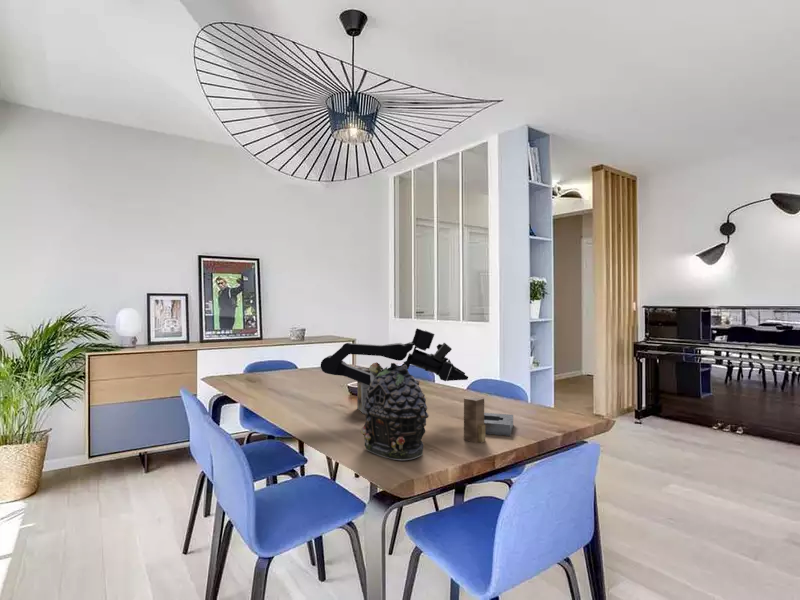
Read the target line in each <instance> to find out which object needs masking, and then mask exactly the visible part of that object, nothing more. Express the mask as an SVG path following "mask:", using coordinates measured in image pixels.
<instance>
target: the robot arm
mask: <svg viewBox="0 0 800 600" xmlns="http://www.w3.org/2000/svg"><path fill="white" fill-rule="evenodd" d="M434 337H435V333H433V332H430V331H427V330H423V329H420V328H418V327H417V328H416V329H415V331H414V336H413V339H412V341H411V342H410V341H409V342H407V343H402V342H396V343H390V344H389V343H388V344H383V345H382V344H370V343H368V344H365V343H352V342H346V343H344V344H343V345H342V346H340V348H339V349H338V350H336V352H334V353H333V354H332V355H328V356H326V357H324V358H323V359H322V360H321V362H320V368H321V370H322V372H323V373H325V374H329V375H332V376H343V377H346V378H349V379H351V380H354V381H356V382H357V381H359V382H362V383H364V384H367V385H369V386H370V383H371V379H370V373H368V372H365V371H363V370H360V369H357V368H358V367H354V366H352V365H350V364H348V363H347V362H346V361H344V359H346V358H347V357H348V356H349V355H355V356H356V355H358V356H360V355H361V356H371V357H372V356H374V357H375V356H376V357H383V358H387V359H390V360H394V361H398V362H399V361H403V360H404V359H405V358H407V359H406V361H403V364H406V365H407V370H409V368H410V366H413V367H416V368H420V369H423V370H424V371H426V372H430V373H433V374H435V375H436V376H438V377H439V379H440V381H444V382H446V381H447V382H449V381H468V379H469V376H468V375H466V372H464V371H462V370H461V369H460V368H458V367H456V366H455V365H454V364H453V363H452V362H451V360H450V359H449V358H448V357H446V356H447V355H448V354H449V353H450V352H451V351H452V347H450V345H448V344H447V343H446V342H443V343H438V344H437V345H436V349H437V350H436V352H435V353H427V352H426V350H427V349H428V350H429V349H430V347H431V345H432V342H433V340H434ZM412 350H413V351H412ZM411 351H412V352H411ZM424 351H425V352H424ZM410 352H411V353H410ZM407 355H408V356H407Z"/></svg>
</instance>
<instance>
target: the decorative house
mask: <svg viewBox="0 0 800 600" xmlns="http://www.w3.org/2000/svg"><path fill="white" fill-rule="evenodd" d="M368 368H369V370H370V379H371V383H370V387H369V388H368V389H367V396H366V399H365V406H364V410H365V413H364V415H365V423H364V425H363V427H362V429H361V431H360V434H362V435H363V438H364V448H365V450H366V451H368V452H370V453H372V454H374V455H377V456H379V457H384V458H386V459H390V460H394V461H395V460H396V461H408V460H409V461H410V460H414V459H416V458H419V457H421V456H423V454H424V442H423V440H422V439H423V436H424V435H425V434H426V428H425V427H426V426H427V419H428V418H429V417H430V415H429V414H428V412H427V411H428V406H427V404H426V402H427V401H426V399H427V398H426V397H425V395H426V394H424V393H423V390H422V388H421V387H420V381H419V380H416V379H415V377H414V376H413V375H412V374H410V372H409V369H407V365H406V364H404V363H403V364H401V365H398V363H395V362H393V363H392V362H391V363H390V367H388V366H386V367H382V365H380V363H378V362H373V363H372V364H370V365H369V367H368Z"/></svg>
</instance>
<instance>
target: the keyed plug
mask: <svg viewBox="0 0 800 600" xmlns="http://www.w3.org/2000/svg"><path fill="white" fill-rule="evenodd" d="M484 413H485V398H483V397H477V396H469V397H466V398H463V440H464V441H466V440H467V442H471V443H475V442H477V443H480V442H483V443H485V442H486V434H485V425H484ZM484 441H485V442H484Z"/></svg>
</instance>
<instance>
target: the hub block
mask: <svg viewBox="0 0 800 600" xmlns="http://www.w3.org/2000/svg"><path fill="white" fill-rule="evenodd" d="M484 425H485V435H491V434H495V435H494V436H502V435H506V437H511V434H512V432H513V428H514V414H506V413H492V412H484Z"/></svg>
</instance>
